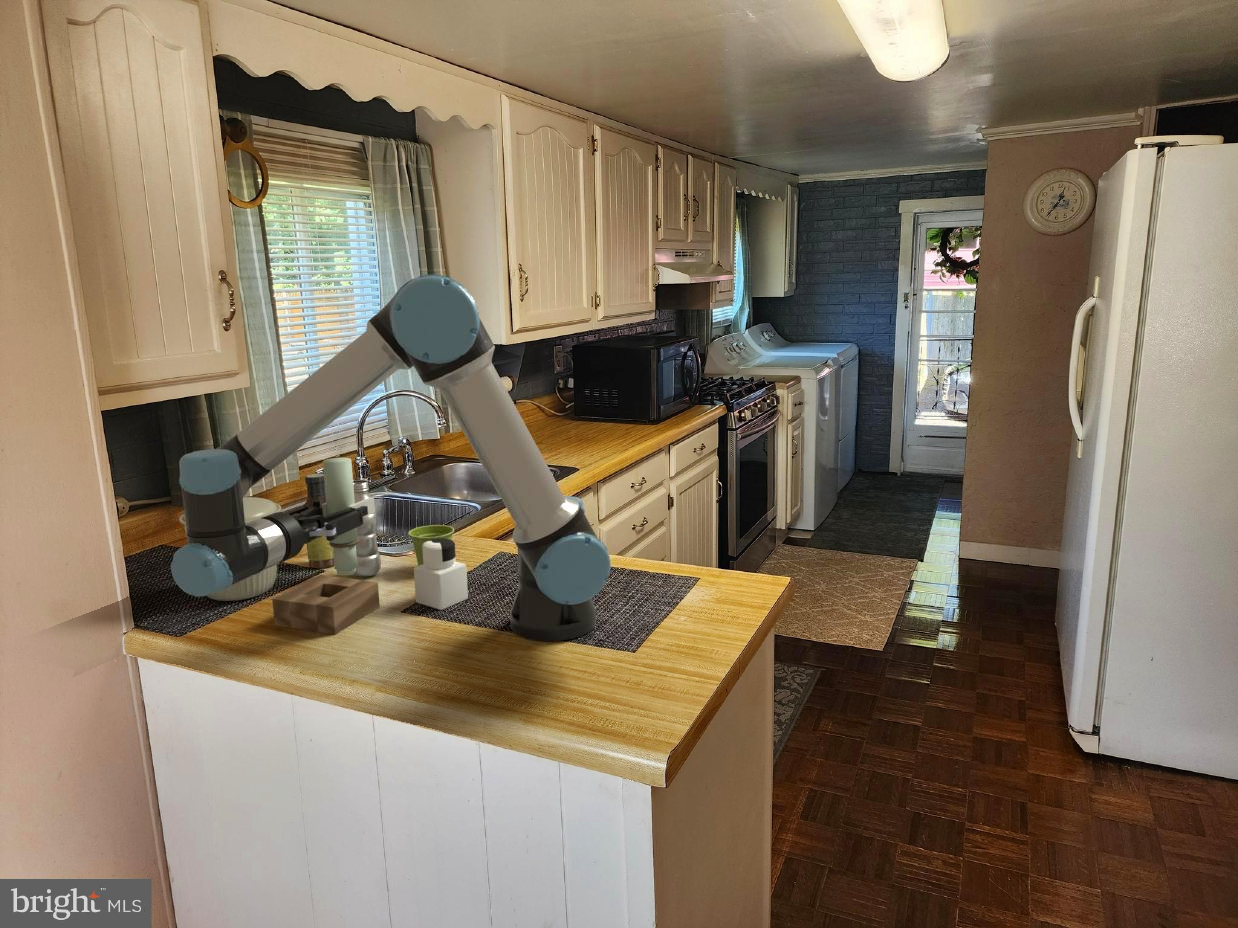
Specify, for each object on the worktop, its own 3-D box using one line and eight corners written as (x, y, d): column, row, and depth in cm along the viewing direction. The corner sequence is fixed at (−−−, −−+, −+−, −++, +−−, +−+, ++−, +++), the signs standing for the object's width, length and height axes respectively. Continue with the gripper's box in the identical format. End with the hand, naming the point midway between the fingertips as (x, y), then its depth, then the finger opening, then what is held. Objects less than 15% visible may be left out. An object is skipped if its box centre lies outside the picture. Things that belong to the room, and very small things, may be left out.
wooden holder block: (379, 607, 159) (377, 582, 158) (335, 634, 147) (333, 607, 146) (322, 599, 163) (320, 575, 162) (274, 625, 151) (272, 598, 150)
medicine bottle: (443, 591, 167) (439, 533, 164) (468, 598, 163) (465, 539, 160) (415, 602, 161) (410, 542, 158) (441, 610, 157) (437, 549, 154)
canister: (236, 573, 179) (225, 476, 175) (308, 581, 174) (298, 481, 169) (167, 603, 162) (153, 497, 158) (245, 613, 157) (232, 504, 152)
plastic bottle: (369, 567, 181) (362, 476, 177) (388, 574, 177) (381, 481, 173) (343, 575, 176) (335, 482, 172) (362, 582, 172) (354, 487, 168)
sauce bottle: (341, 566, 182) (333, 476, 178) (310, 571, 180) (301, 480, 175) (336, 557, 188) (328, 470, 184) (306, 562, 185) (298, 474, 181)
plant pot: (403, 569, 180) (400, 530, 178) (442, 559, 186) (440, 521, 184) (424, 580, 173) (421, 540, 171) (464, 570, 179) (462, 531, 177)
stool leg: (365, 569, 149) (357, 458, 145) (349, 577, 145) (340, 464, 141) (343, 566, 151) (334, 456, 146) (326, 575, 146) (316, 462, 142)
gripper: (224, 559, 132) (320, 520, 154) (318, 570, 127) (404, 527, 149) (219, 513, 131) (316, 480, 152) (314, 522, 125) (401, 486, 147)
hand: (359, 503), depth 150 cm, fingers closed on stool leg, 4 cm apart
